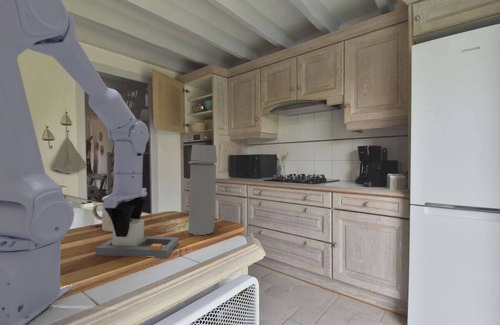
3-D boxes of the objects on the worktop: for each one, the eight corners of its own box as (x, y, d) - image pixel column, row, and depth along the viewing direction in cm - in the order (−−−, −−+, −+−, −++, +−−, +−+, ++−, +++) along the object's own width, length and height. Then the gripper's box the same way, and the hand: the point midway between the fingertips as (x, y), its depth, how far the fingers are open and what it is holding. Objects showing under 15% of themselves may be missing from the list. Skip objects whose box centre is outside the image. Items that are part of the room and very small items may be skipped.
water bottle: (220, 233, 68) (223, 145, 67) (197, 240, 62) (200, 144, 61) (200, 226, 74) (203, 145, 73) (178, 231, 68) (180, 144, 67)
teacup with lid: (141, 224, 74) (142, 186, 73) (128, 233, 64) (129, 191, 64) (101, 223, 73) (102, 185, 72) (82, 233, 64) (83, 190, 63)
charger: (135, 247, 52) (135, 223, 51) (112, 246, 52) (113, 222, 51) (143, 240, 56) (144, 219, 55) (122, 239, 56) (123, 218, 55)
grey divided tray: (166, 262, 50) (166, 246, 49) (95, 259, 50) (95, 243, 50) (178, 247, 57) (178, 234, 57) (117, 245, 58) (117, 231, 58)
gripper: (129, 176, 46) (128, 245, 46) (158, 171, 60) (157, 224, 61) (93, 175, 46) (92, 244, 46) (131, 170, 60) (129, 223, 61)
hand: (127, 232), depth 53 cm, fingers closed on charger, 4 cm apart
